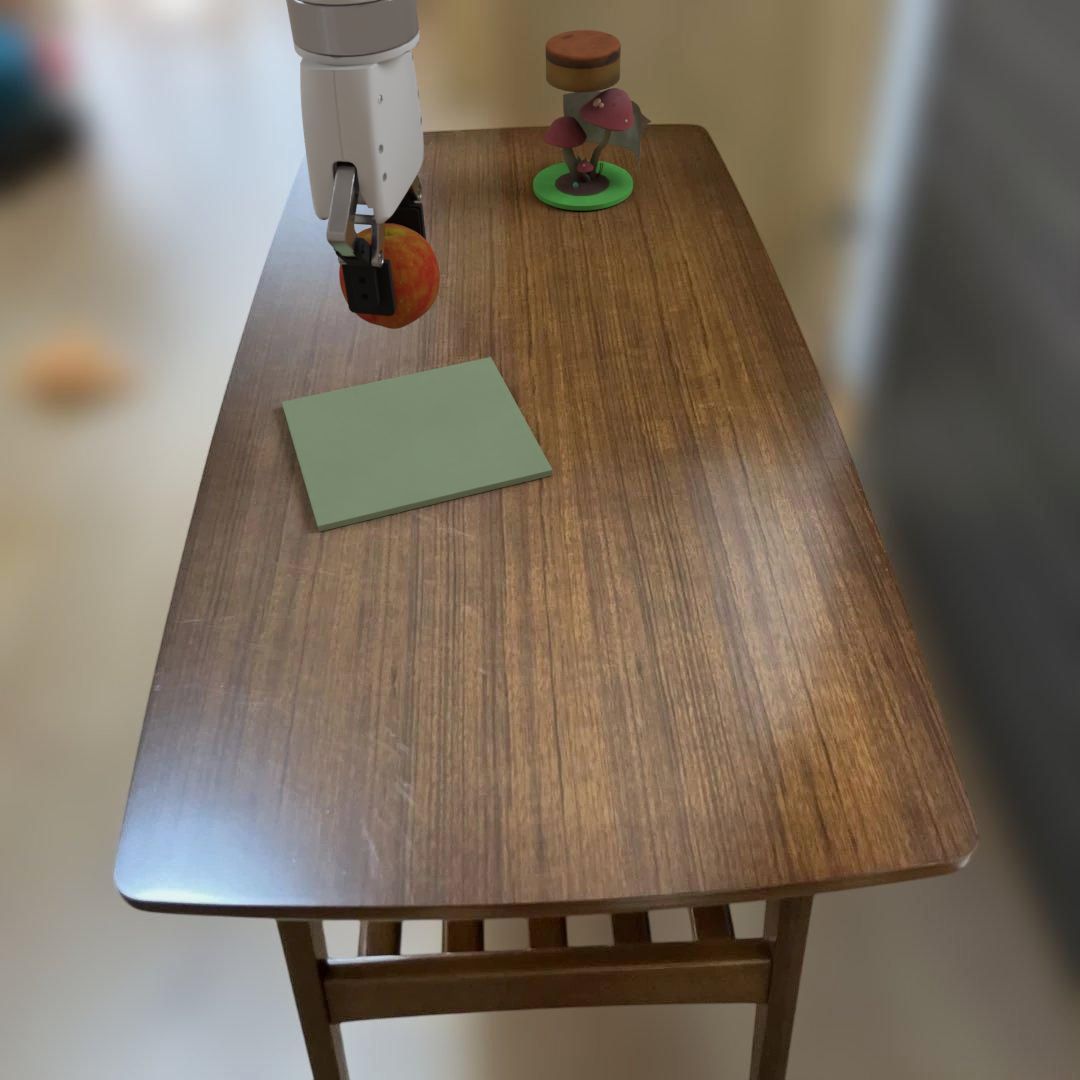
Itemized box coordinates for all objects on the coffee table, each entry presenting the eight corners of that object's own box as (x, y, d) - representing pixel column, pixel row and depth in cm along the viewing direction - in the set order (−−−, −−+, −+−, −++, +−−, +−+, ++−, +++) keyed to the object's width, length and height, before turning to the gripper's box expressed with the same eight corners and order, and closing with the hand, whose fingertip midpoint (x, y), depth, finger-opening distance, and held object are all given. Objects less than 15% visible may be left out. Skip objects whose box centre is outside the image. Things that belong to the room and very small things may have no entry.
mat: (318, 532, 81) (317, 526, 81) (282, 407, 92) (281, 401, 92) (552, 475, 85) (552, 469, 85) (491, 362, 96) (490, 356, 96)
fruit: (428, 351, 77) (417, 247, 72) (333, 342, 79) (314, 238, 73) (454, 298, 82) (445, 197, 77) (364, 290, 84) (349, 189, 78)
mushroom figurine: (613, 226, 113) (616, 76, 102) (508, 198, 118) (500, 52, 107) (666, 178, 120) (674, 34, 110) (564, 154, 125) (563, 13, 115)
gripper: (340, -32, 73) (375, 219, 85) (237, 70, 61) (296, 347, 73) (452, -28, 72) (471, 226, 84) (370, 78, 59) (406, 357, 72)
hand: (389, 280), depth 78 cm, fingers closed on fruit, 7 cm apart
